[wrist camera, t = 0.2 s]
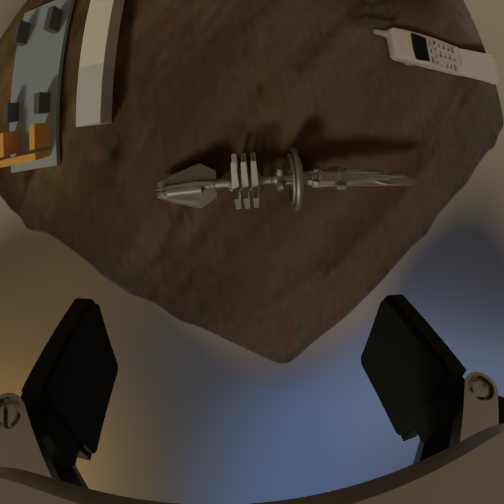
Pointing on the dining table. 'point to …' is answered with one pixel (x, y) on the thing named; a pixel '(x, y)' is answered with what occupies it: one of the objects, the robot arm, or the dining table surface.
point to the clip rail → (36, 88)
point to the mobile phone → (438, 55)
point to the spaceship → (268, 181)
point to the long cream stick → (98, 63)
